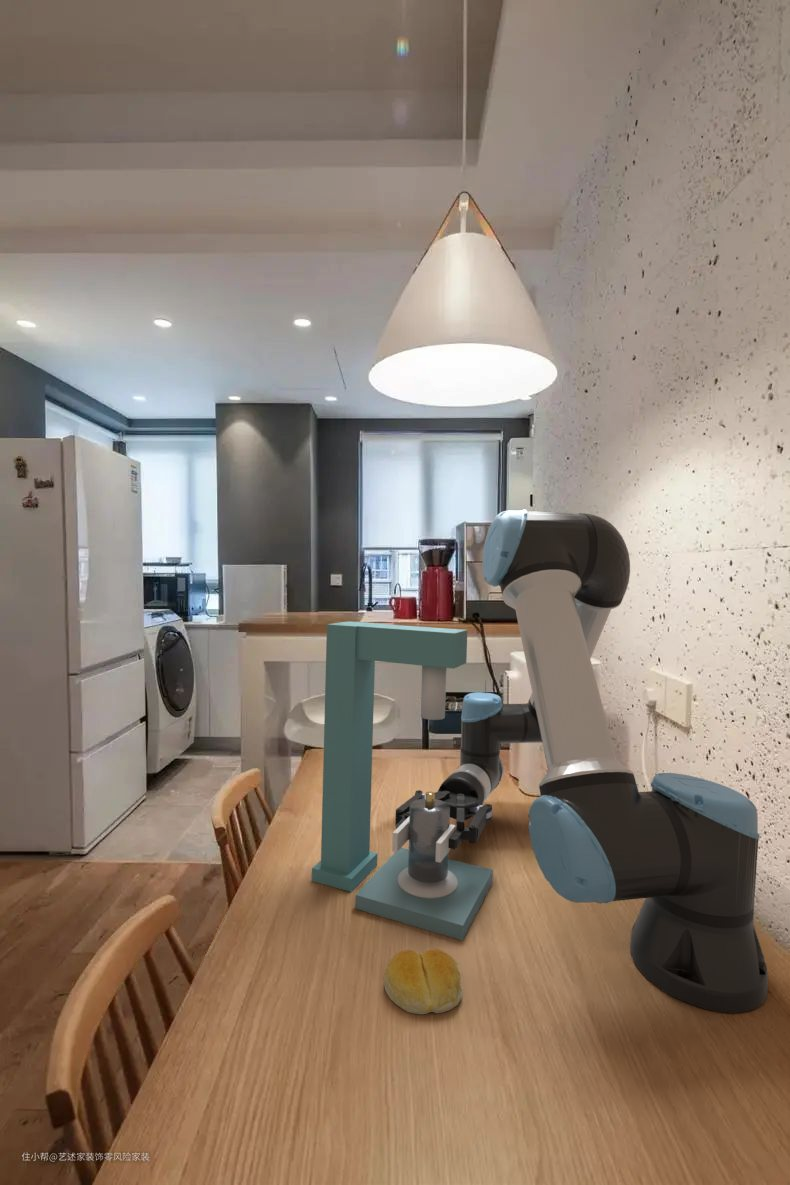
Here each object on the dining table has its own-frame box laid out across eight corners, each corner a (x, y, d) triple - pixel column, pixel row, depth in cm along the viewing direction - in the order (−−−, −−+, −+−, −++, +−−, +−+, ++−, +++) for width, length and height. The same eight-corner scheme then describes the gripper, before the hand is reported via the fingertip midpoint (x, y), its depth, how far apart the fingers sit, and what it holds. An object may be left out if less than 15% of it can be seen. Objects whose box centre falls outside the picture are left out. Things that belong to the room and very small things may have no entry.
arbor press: (492, 882, 90) (501, 629, 89) (462, 940, 76) (472, 638, 74) (349, 846, 101) (356, 619, 99) (299, 891, 86) (305, 626, 85)
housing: (451, 882, 83) (454, 801, 83) (410, 883, 83) (413, 801, 82) (443, 861, 89) (446, 785, 89) (405, 862, 89) (407, 786, 88)
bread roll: (382, 967, 70) (383, 935, 70) (455, 967, 71) (456, 935, 71) (385, 1020, 62) (386, 984, 62) (466, 1019, 63) (468, 983, 62)
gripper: (516, 823, 99) (480, 890, 77) (414, 802, 106) (356, 858, 85) (518, 780, 98) (482, 835, 77) (415, 762, 106) (357, 808, 85)
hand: (416, 847), depth 81 cm, fingers closed on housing, 6 cm apart
